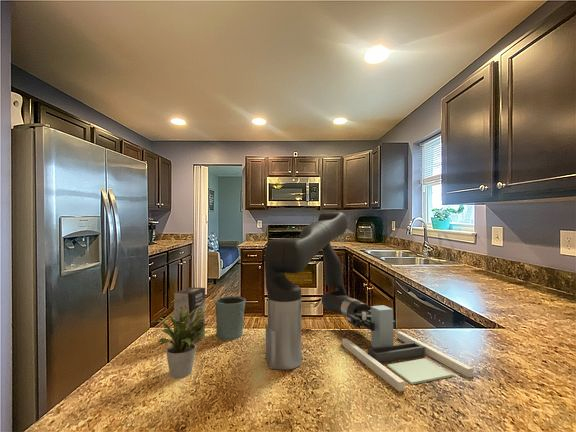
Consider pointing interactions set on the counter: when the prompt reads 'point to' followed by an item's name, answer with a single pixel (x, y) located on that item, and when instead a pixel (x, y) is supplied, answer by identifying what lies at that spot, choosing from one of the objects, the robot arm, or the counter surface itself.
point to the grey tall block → (382, 326)
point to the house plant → (181, 344)
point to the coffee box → (190, 307)
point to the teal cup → (229, 317)
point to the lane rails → (393, 378)
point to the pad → (419, 371)
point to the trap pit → (397, 352)
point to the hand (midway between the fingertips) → (384, 326)
